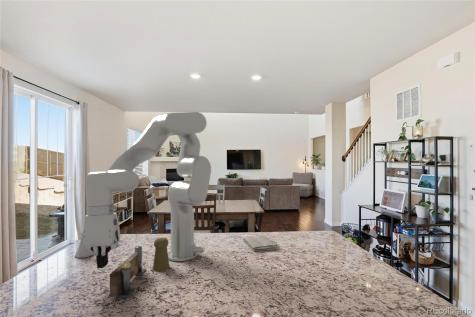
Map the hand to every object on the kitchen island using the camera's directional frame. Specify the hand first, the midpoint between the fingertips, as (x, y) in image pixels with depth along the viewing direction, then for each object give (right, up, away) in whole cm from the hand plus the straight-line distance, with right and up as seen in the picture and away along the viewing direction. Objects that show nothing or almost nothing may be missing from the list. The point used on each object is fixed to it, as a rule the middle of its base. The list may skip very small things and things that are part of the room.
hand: (102, 266), depth 82 cm
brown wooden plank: (+8, -5, -1) cm, 9 cm away
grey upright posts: (+9, -6, +2) cm, 11 cm away
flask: (-21, -7, +26) cm, 35 cm away
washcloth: (+54, -7, +39) cm, 67 cm away
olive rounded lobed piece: (+15, -6, +13) cm, 21 cm away
